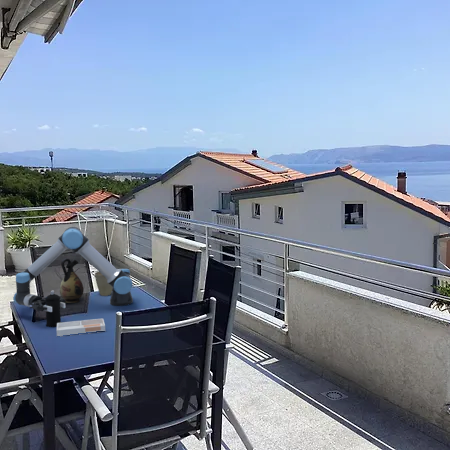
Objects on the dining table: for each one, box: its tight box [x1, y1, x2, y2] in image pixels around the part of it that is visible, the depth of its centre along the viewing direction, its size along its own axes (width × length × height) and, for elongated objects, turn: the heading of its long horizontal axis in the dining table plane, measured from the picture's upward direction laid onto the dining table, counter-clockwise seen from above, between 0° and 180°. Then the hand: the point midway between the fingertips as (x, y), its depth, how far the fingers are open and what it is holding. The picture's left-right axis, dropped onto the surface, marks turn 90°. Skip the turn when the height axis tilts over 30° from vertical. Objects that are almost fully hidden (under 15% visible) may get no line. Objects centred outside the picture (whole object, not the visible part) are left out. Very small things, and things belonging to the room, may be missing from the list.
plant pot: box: [94, 271, 112, 297], centre depth 325 cm, size 15×15×16 cm
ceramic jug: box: [59, 257, 85, 304], centre depth 306 cm, size 17×15×30 cm
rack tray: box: [56, 318, 106, 337], centre depth 251 cm, size 25×13×4 cm, turn 109°
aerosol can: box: [44, 289, 62, 328], centre depth 259 cm, size 8×8×20 cm
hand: (58, 307), depth 257 cm, fingers closed on aerosol can, 8 cm apart
